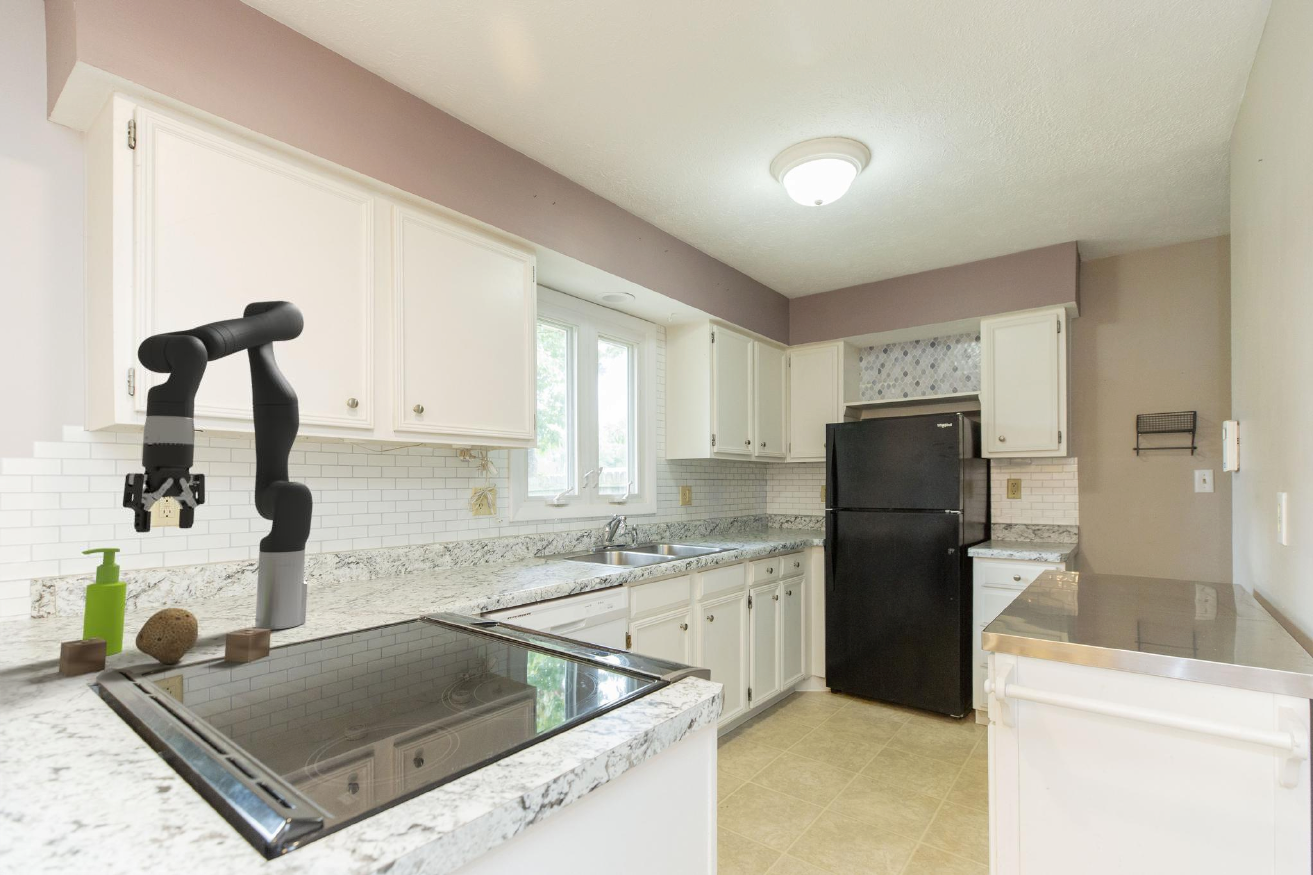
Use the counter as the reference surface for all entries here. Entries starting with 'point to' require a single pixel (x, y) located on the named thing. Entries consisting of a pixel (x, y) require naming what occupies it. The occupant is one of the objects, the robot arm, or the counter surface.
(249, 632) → the walnut block two pips
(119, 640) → the soap dispenser
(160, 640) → the natural sponge
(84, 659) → the walnut block three pips
